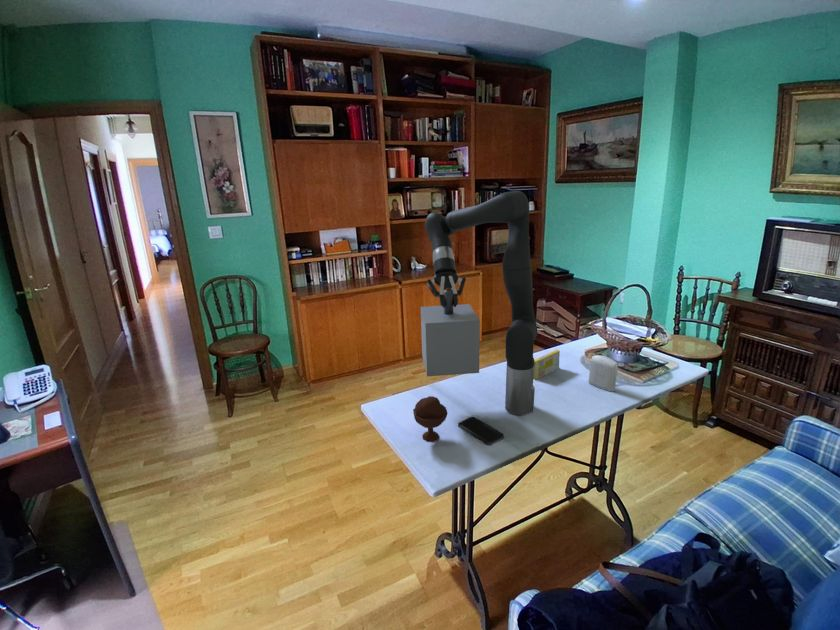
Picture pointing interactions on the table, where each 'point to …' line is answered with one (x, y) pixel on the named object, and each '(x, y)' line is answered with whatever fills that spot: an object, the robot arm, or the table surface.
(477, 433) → the black smartphone
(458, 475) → the table surface
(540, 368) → the candy box
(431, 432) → the ice cream bowl
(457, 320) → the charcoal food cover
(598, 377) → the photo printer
